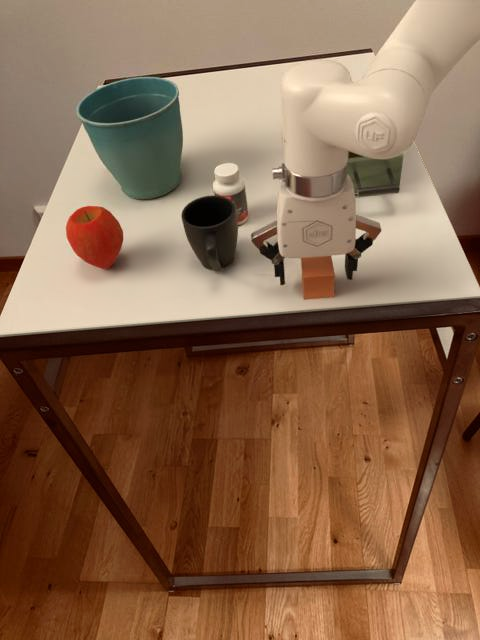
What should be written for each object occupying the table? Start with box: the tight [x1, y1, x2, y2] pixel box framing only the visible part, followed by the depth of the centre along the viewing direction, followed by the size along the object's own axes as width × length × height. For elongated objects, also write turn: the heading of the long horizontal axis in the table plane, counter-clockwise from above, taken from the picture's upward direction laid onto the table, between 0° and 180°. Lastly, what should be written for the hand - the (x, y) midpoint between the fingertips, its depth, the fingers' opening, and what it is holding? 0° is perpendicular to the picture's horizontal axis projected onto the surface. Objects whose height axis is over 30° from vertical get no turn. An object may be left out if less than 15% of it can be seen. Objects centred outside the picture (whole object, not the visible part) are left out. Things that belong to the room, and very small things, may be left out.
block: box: [300, 255, 336, 300], centre depth 74 cm, size 4×4×4 cm
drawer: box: [347, 151, 404, 198], centre depth 88 cm, size 19×10×6 cm, turn 1°
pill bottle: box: [212, 162, 250, 226], centre depth 86 cm, size 5×5×10 cm
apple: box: [65, 205, 124, 270], centre depth 81 cm, size 9×8×11 cm
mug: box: [180, 194, 239, 273], centre depth 78 cm, size 8×12×10 cm
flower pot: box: [75, 76, 184, 200], centre depth 94 cm, size 18×18×17 cm
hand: (315, 276), depth 74 cm, fingers open, 9 cm apart
